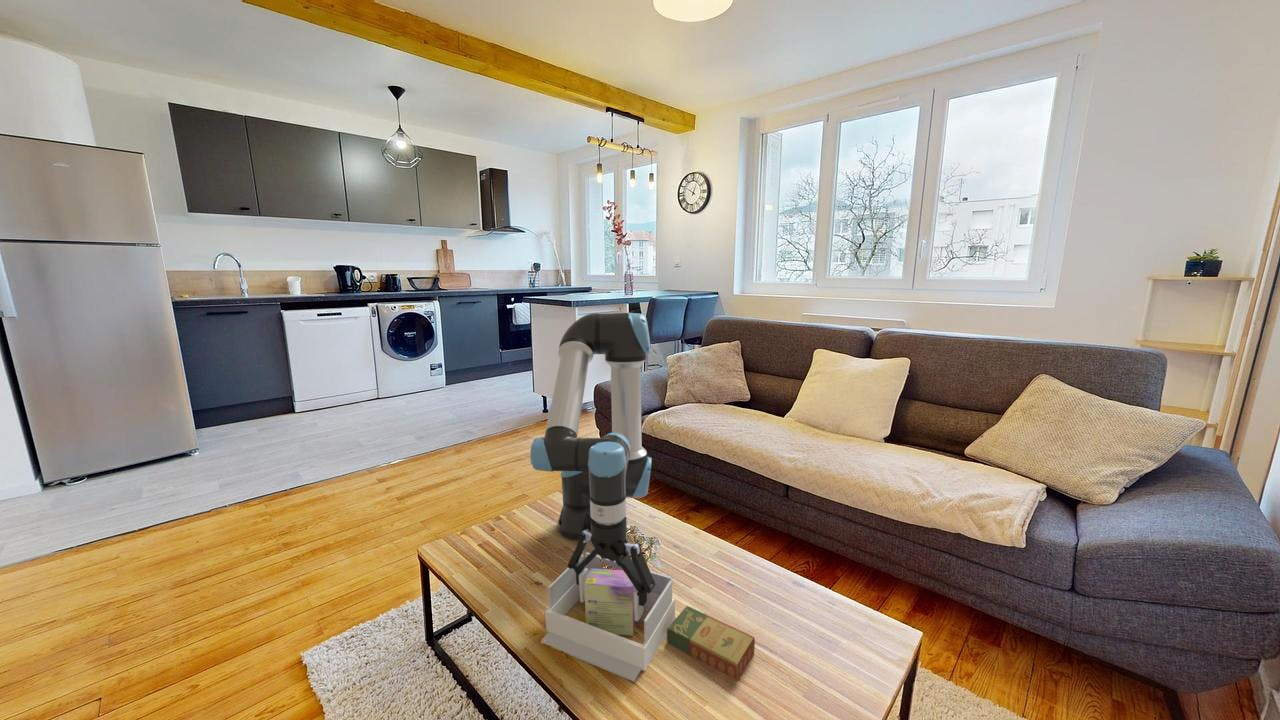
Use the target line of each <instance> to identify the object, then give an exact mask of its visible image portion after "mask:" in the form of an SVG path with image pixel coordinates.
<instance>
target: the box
mask: <svg viewBox="0 0 1280 720" xmlns="http://www.w3.org/2000/svg"><path fill="white" fill-rule="evenodd" d="M635 591H636V588H635V587H634V585H633V584H632V582H631V581H630V579H629V578H628V576H627V575H626V573H625V572H624V570H612V569H594V568H590V570H589V573H588V576H587V579H586V582H585V600H584V608H585V609H584V610H585V615H584V616H585V623H586V624H589V625H592V626H594V627H597V628H600V629H602V630H605V631H608V632H610V633H613V634H616V635H618V636H621V635H622V636H629V637H632V636H633V637H634V634H635V626H636V621H635V610H634V592H635Z"/></svg>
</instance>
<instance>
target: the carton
mask: <svg viewBox="0 0 1280 720" xmlns="http://www.w3.org/2000/svg"><path fill="white" fill-rule="evenodd" d="M755 639H756V638H755V637H754V636H753V635H750V634H749V633H746V632H744V631H743V630H740V629H738V628H736V627H733V626H731V625H729V624H727V623H725V622H723V621H720V620H718V619H717V618H714V617H712V616H710V615H708V614H705V613H703V612H702V611H699V610H698V609H695V608H693V607H691V606H689V605H686V606H685V608H683V610H682V611H681V612H680V613H679V614H678V615H677V617H675V619H674V621H673V622H672V624H671V625H669V627H668V628H667V633H666V642H667V644H668V645H670V646H672V647H673V648H675V649H678V650H679V651H681V652H683V653H685V654H687V655H689V656H690V657H692V658H694V659H696V660H698V661H700V662H701V663H703V664H705V665H707V666H709V667H711V668H712V669H714V670H716V671H718V672H720V673H721V674H723V675H725V676H727V677H729V678H730V679H732V680H734V681H736V682H738V681H739V680H740V677H741V676H742V674H743V673H744V672H745V669H746V668H747V666H748V664H749V663H750V662H751V660H752V658H753V656H754V655H755V649H756V648H755V645H756V644H755V643H756V640H755Z"/></svg>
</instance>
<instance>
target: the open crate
mask: <svg viewBox="0 0 1280 720" xmlns="http://www.w3.org/2000/svg"><path fill="white" fill-rule="evenodd" d="M590 553H591V552H588V551H587V552H585V556H584V554H583V553H582V555H581V557H580V559H579V561H578V562H580V563H581V562H582V561H583V560H584V559H585V558H586V557H587V556H588V555H589V554H590ZM584 557H585V558H584ZM600 558H601V557H600V555H599V554H597V555H596V556H595V557H594V558H593V559H592V560H591V561H590V562H589V563H588V564H587V565H586V566H585V568H587V569H588V573H589V570H590V568H594V569H606V567H605V568H603V566H602V567H601V563H602V560H604V565H605V564H606V565H607V566H609V567H611V566H612V567H615V568H616V569H617V570H623V569H622V568H621V566H618V565H617V563H616V562H615V561H614V562H613V561H610V560H609V559H603V558H601V559H600ZM600 560H601V562H600ZM650 572H651V575H652V577H653V579H654V581H655V584H656V585H655V587H654V588H653V589H652V591H651V592H650V593H647V601H646V603H645V605H644V606H643V609H644V612H645V611H646V612H648V614H647V616H646V617H645V618H644V620H643V626H644V627H643V629H644V630H643V631H644V633H643V635H644V642H643V644H642V643H639V642H636V641H634V640H632V639H628V638H625V637H623V636H621V635H619V634H613V633H610V632H608V631H605V630H602V629H600V628H597V627H594V626H592V625H589V624H586V622H583V621H580V620H579V619H575V618H572V617H571V616H568V615H567V614H568V613H569V612H570V610H571V609H572V608H573V607H574V606H575V605H576V603H577V602H578V601H580V592H579V585H577V583H576V572H575V570H574V569H573V568H572V569H570V568H568V567H567V568H566V569H565V570H564V571H563V572H562V573H561V574H560V575H559V576H558V577H557V578H556V579H555V580H553V582H552V583H550V585H549V586H548V587H547V590H548V592H547V593H548V606H549V607H548V608H546V610H545V611H544V613H545V614H544V616H545V632H546V631H548V632H546V634H545V636H544V637H542V639H541V640H542V642H543V643H545V644H547V645H549V646H552V647H554V648H556V649H558V650H557V651H559V650H561V651H563V652H564V653H563V652H562V653H563V654H566V653H567V654H566V655H568V654H569V655H568V656H571V657H573V656H574V657H573V658H575V657H576V658H575V659H578V660H580V661H582V662H585V663H588V664H590V665H593V666H595V667H596V668H597V667H598V669H599V668H600V669H602V670H605V671H606V672H609V673H612V674H614V675H616V676H619V677H622V678H623V679H626V680H629V681H631V682H633V683H635V682H636V679H637V678H638V677H639V674H640V672H641V671H643V672H646V670H647V668H648V667H649V665H650V664H651V661H652V660H653V658H654V656H655V654H656V652H657V651H658V650H659V647H660V646H661V645H662V644H661V643H662V642H663V640H664V638H665V636H667V628H668V627H669V625H671V624H672V622H673V621H674V620H675V619H676V598H675V597H673V581H672V576H669V575H665V574H662V573H658V572H655V571H652V570H650ZM544 640H545V641H544ZM547 645H546V646H547ZM549 646H548V647H549ZM552 647H551V648H552ZM554 648H553V649H554ZM556 649H555V650H556ZM561 651H560V652H561Z"/></svg>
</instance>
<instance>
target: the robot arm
mask: <svg viewBox="0 0 1280 720" xmlns="http://www.w3.org/2000/svg"><path fill="white" fill-rule="evenodd" d="M648 325H649V324H648V320H647V317H646V316H645V315H644V314H642V313H639V312H638V313H637V312H636V313H634V312H617V313H615V312H613V313H611V312H609V313H608V312H607V313H606V312H605V313H603V312H602V313H597V312H595V313H594V312H593V313H589V314H586V315H584V316H582V317H580V318H579V319H576V320H575V321H574V322H573V323H572V324H571V325H570V326H569V327H568V328H567V329H566V331H565V332H564V334H563V336H562V338H561V340H560V342H559V347H558V350H557V354H558V356H559V358H560V359H559V365H558V370H557V375H556V379H555V385H554V389H553V394H552V398H551V403H550V408H549V412H548V418H547V421H546V427H545V432H544V433H545V434H544V436H541V437H535V438H534V439H533V442H532V443H531V447H530V454H529V457H530V463H531V465H532V468H533V469H534V470H536V471H540V472H551V473H553V472H560V477H561V488H562V489H561V492H562V507H561V511H560V514H559V517H558V520H557V525H558V527H557V528H558V532H559V534H560V535H561V537H563V538H565V539H567V538H568V540H572V541H577V544H576V547H575V549H574V551H573V553H572V555H571V558H570V559H569V561H568V563H567V568H570V569H572V568H573V569H574V570H575V572H576V583H577V585H579V592H580V599H579V602H581V603H585V582H586V579H587V576H588V569H587V568H586V565H587V564H588V563H589V562H590V561H591V560H592V559H593V558H594V557H595V556H596V555H598V556H601V558H603V559H609V560H610V561H613V562H614V561H615V562H616V563H617V565H618V566H621V568H622V569H623V570H624V572H625V573H626V575H627V576H628V578H629V579H630V581H631V582H632V584H633V585H634V587H635V588H636V591H635V592H634V610H635V622H639V621H640V619H641V618H642V616H643V615H644V613H645V610H644V609H643V606H644V605H645V603H646V601H647V593H650V592H651V591H652V589H653V588H654V587H655V585H656V584H655V581H654V579H653V577H652V575H651V572H650V571H651V570H650V569H649V568H650V567H649V566H648V564H647V561H646V559H645V557H644V555H643V553H642V545H641V542H639V541H636V542H635V543H630V542H628V539H627V533H628V529H627V528H628V525H627V523H628V521H627V514H628V513H627V498H629V499H634V498H644V497H646V496H647V495H648V492H649V486H650V478H651V470H652V460H653V459H652V457H650V456H648V452H647V450H646V449H645V448H644V447H643V446H642V440H643V439H642V379H641V378H642V377H641V375H642V371H641V368H642V365H644V363H645V362H646V360H647V356H648V355H650V354H651V352H652V349H651V341H650V340H651V339H650V331H649V326H648ZM594 355H604V357H605V358H604V359H605V360H604V361H605V362H606V363H607V364H608V366H609V367H610V391H611V393H610V395H611V397H610V398H611V432H609V433H608V434H606V435H604V436H602V437H578V434H579V433H578V432H579V427H580V420H581V414H582V413H581V412H582V407H583V401H584V394H585V387H586V380H587V374H588V369H589V368H588V367H589V364H590V363H591V362H592V361H593V359H594ZM589 542H590V543H591V545H592V546H593V548H594V549H593V550H592V551H591V552H589V553H590V554H589V555H588V556H587V557H586V556H585V558H584V560H583V561H582V562H581V563H580V562H578V561H579V559H580V557H581V555H582V554H583V553H584V551H585V549H586V547H587V545H588V543H589ZM621 556H623V557H622V558H621Z"/></svg>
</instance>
